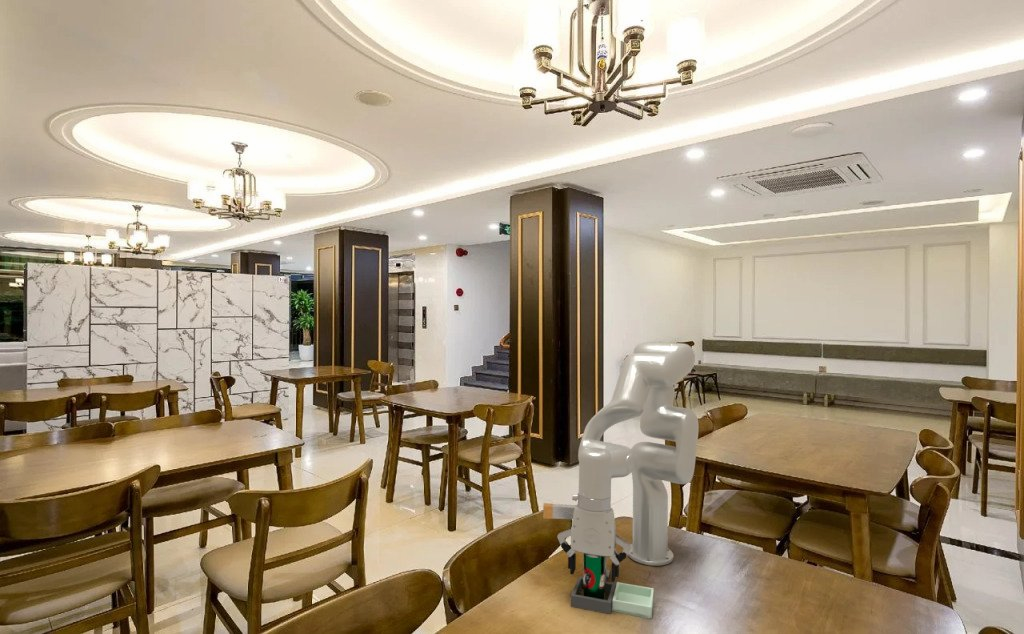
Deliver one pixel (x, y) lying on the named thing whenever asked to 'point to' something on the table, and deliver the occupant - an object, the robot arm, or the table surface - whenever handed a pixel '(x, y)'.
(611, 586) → the collar
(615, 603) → the tray
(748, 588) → the table surface
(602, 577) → the soda can
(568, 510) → the bar
